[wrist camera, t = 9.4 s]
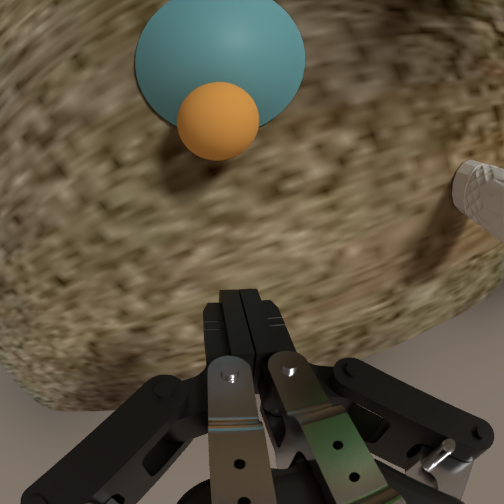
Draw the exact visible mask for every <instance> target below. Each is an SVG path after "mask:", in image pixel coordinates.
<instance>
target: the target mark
mask: <svg viewBox="0 0 504 504" xmlns="http://www.w3.org/2000/svg"><path fill="white" fill-rule="evenodd" d="M135 68H136V76H137V80H138V84H139V86H140V89H141V91H142V93H143V95H144V97H145V98H146V100H147V102H148V103H149V104H150V105H151V106H152V108H153V109H154V110H155V111H156V112H157V113H158V114H159V115H160V116H161V117H163V118H164V119H166V120H167V121H168V122H170V123H172V124H174V125H175V126H177V115H178V111H179V109H180V106H181V104H182V102H183V101H184V99H185V98H186V97H187V96H188V95H189V94H190V93H191V92H192V91H193V90H195V89H196V88H198V87H200V86H202V85H205V84H208V83H212V82H226V83H231V84H234V85H236V86H238V87H240V88H242V89H243V90H245V91H246V92H247V93H248V94H249V95H250V96H251V97H252V99H253V101H254V102H255V104H256V106H257V109H258V113H259V126H261V125H263V124H265V123H267V122H268V121H270V120H271V119H273V118H274V117H276V116H277V115H278V114H279V113H280V112H282V111H283V110H284V108H285V107H286V106H287V105H288V104H289V103H290V101H291V100H292V99H293V97H294V96H295V94H296V92H297V90H298V88H299V86H300V83H301V80H302V78H303V73H304V68H305V51H304V45H303V41H302V38H301V35H300V33H299V30H298V28H297V27H296V25H295V23H294V21H293V20H292V19H291V17H290V16H289V15H288V14H287V12H286V11H285V10H284V9H283V8H282V7H281V6H279V5H278V4H277V3H275V2H274V1H273V0H171V1H169V2H168V3H167V4H165V5H164V6H163V7H161V8H160V9H159V10H158V11H157V12H156V13H155V14H154V15H153V17H152V18H151V19H150V21H149V22H148V23H147V25H146V26H145V28H144V30H143V32H142V34H141V36H140V39H139V42H138V45H137V50H136V57H135Z"/></svg>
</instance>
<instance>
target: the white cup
mask: <svg viewBox="0 0 504 504" xmlns="http://www.w3.org/2000/svg"><path fill="white" fill-rule="evenodd" d="M452 198H453V203H454V205H455V207H456V208H457V209H458V210H459V211H460V212H462V213H463V214H465V215H466V216H468V217H469V218H470V219H472V220H473V221H474V222H475V223H477V224H478V225H480V226H481V227H482V228H483V229H485V230H486V231H487V232H489V233H490V234H492V235H493V236H494V237H496V238H497V239H498V240H500V241H501V242H502V243H504V169H502V168H500V167H496V166H493V165H490V164H484V163H480V162H477V161H474V160H471V159H470V160H468V161H466V162H464V163H462V165H461V166H460V167H459V169H458V170H457V172H456V175H455V177H454V180H453V185H452Z"/></svg>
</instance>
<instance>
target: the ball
mask: <svg viewBox="0 0 504 504" xmlns="http://www.w3.org/2000/svg"><path fill="white" fill-rule="evenodd" d="M258 128H259V113H258V109H257V106H256V104H255V102H254V101H253V99H252V97H251V96H250V95H249V94H248V93H247V92H246V91H245V90H243V89H242V88H240V87H238V86H236V85H234V84H231V83H226V82H212V83H208V84H205V85H202V86H200V87H198V88H196V89H195V90H193V91H192V92H191V93H190V94H189V95H188V96H187V97H186V98H185V99H184V101H183V102H182V104H181V106H180V109H179V111H178V115H177V129H178V133H179V136H180V138H181V140H182V142H183V143H184V145H185V146H186V147H187V148H188V149H189V150H190V151H191V152H192V153H194V154H195V155H197V156H199V157H201V158H204V159H208V160H215V161H217V160H226V159H230V158H233V157H235V156H237V155H239V154H241V153H242V152H243V151H245V150H246V149H247V148H248V147H249V146H250V145H251V143H252V142H253V140H254V139H255V137H256V134H257V132H258Z"/></svg>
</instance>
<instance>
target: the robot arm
mask: <svg viewBox="0 0 504 504" xmlns="http://www.w3.org/2000/svg"><path fill="white" fill-rule="evenodd" d="M203 324H204V344H205V354H206V364H207V365H206V368H205V369H204V370H203V371H202V372H201V373H200V374H199V375H197V376H195V377H193V378H190V379H187V380H184V381H182V380H180V379H179V378H177V377H175V376H172V375H158V376H155V377H153V378H151V379H149V380H148V381H147V382H146V383H145V384H144V385H143V386H142V387H140V388H139V389H138V390H137V391H136V392H135V393H134V394H133V395H132V396H131V397H130V398H129V399H128V400H126V401H125V402H124V403H123V404H122V405H121V406H120V407H119V408H118V409H117V410H116V411H114V412H113V413H112V414H111V415H110V416H109V417H108V418H107V419H106V420H105V421H103V422H102V423H101V424H100V425H99V426H98V427H97V428H96V429H95V430H93V432H91V433H90V434H89V435H88V436H87V437H86V438H85V439H84V440H82V441H81V442H80V443H79V444H78V445H77V446H76V447H75V448H73V449H72V450H71V451H70V452H69V453H68V454H67V455H65V456H64V457H63V458H62V459H61V460H60V461H59V462H57V463H56V464H55V465H54V466H53V467H52V468H51V469H49V471H47V472H46V473H45V474H44V475H42V476H41V477H40V478H39V479H38V480H37V481H36V482H34V483H33V484H32V485H31V486H30V487H28V488H27V489H26V490H25V491H24V493H23V494H22V497H21V504H136V503H137V502H138V501H139V500H140V499H141V498H142V497H143V496H144V495H145V494H146V493H147V492H148V491H149V490H150V488H151V487H152V486H153V485H154V484H155V483H156V482H157V481H158V480H159V479H160V477H161V476H162V475H163V474H164V473H165V472H166V471H167V470H168V468H169V467H170V466H171V465H172V464H173V463H174V462H175V460H176V459H177V458H178V457H179V456H180V455H181V453H182V452H183V451H184V450H185V449H186V448H187V446H188V445H189V444H190V443H191V441H192V440H193V438H195V437H198V436H201V435H204V434H207V433H208V441H209V466H210V479H208V480H206V481H203V482H201V483H199V484H198V485H196V486H194V487H193V488H191V489H190V490H189V491H187V492H186V493H185V494H184V495H183V496H182V497H181V499H180V500H179V501H178V502H177V504H464V502H462V501H461V498H462V496H463V493H464V490H465V487H466V484H467V481H468V478H469V475H470V472H471V469H472V465H473V462H474V460H475V459H476V458H478V457H479V456H480V455H481V454H482V453H483V452H485V451H486V450H487V449H488V448H490V446H491V445H492V444H493V441H494V432H493V429H492V427H491V426H490V424H489V423H488V422H486V421H485V420H483V419H481V418H479V417H476V416H474V415H472V414H469V413H467V412H465V411H463V410H461V409H459V408H456V407H454V406H452V405H450V404H448V403H445V402H443V401H441V400H439V399H437V398H435V397H433V396H431V395H429V394H426V393H424V392H423V391H420V390H418V389H416V388H414V387H412V386H410V385H408V384H406V383H404V382H402V381H400V380H398V379H396V378H394V377H392V376H390V375H388V374H386V373H384V372H382V371H380V370H378V369H376V368H374V367H373V366H371V365H369V364H367V363H365V362H363V361H361V360H359V359H356V358H343V359H341V360H339V361H337V362H336V364H335V365H334V367H328V366H319V365H314V364H310V363H308V361H307V359H306V358H305V357H304V356H302V355H301V354H299V353H297V352H296V350H295V347H294V345H293V342H292V340H291V338H290V335H289V333H288V330H287V328H286V325H285V323H284V321H283V318H282V316H281V313H280V311H279V308H278V307H277V306H276V305H275V304H274V303H273V302H272V301H270V300H262V301H261V298H260V296H259V293H258V290H257V289H239V290H220V292H219V303H207V305H206V307H205V309H204V311H203ZM255 394H259V395H260V399H261V405H260V412H261V415H262V417H263V420H264V423H265V426H266V429H267V432H268V434H269V437H270V440H271V443H272V445H273V448H274V451H275V457H276V466H277V469H272V468H271V467H270V461H269V456H268V450H267V444H266V438H265V432H264V427H263V423H262V422H261V421H259V417H258V411H257V404H256V398H255ZM357 404H358V405H357ZM359 405H360V406H359ZM361 406H362V407H361ZM363 407H364V408H363ZM365 408H366V409H365ZM367 409H368V410H370V411H371V412H370V411H368V410H367ZM372 412H373V413H372ZM374 413H375V414H374ZM376 414H377V415H376ZM378 415H379V416H378ZM380 416H381V417H380ZM382 417H383V418H382ZM370 453H372V454H374V455H376V456H378V457H381V458H382V459H384V460H386V461H388V462H390V463H392V464H394V465H397V466H399V467H401V468H403V469H405V474H403V473H401V472H399V471H397V470H395V469H393V468H391V467H390V466H388V465H386V464H384V463H382V462H380V461H378V460H376V459H374V458H373V457H372V455H371V454H370Z"/></svg>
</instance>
